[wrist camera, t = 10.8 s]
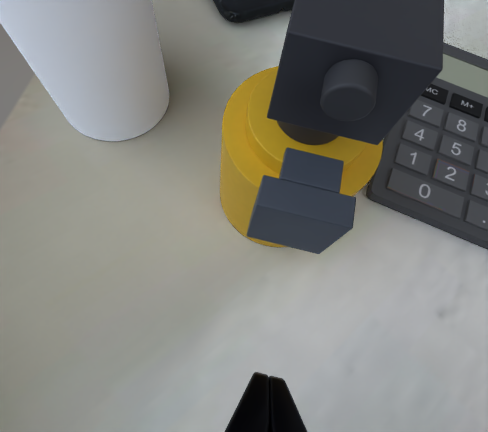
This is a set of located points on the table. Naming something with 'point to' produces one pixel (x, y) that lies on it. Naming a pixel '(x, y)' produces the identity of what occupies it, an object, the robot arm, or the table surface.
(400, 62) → the spray bottle
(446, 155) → the calculator
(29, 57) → the cylindrical container
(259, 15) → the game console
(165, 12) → the table surface
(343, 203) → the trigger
